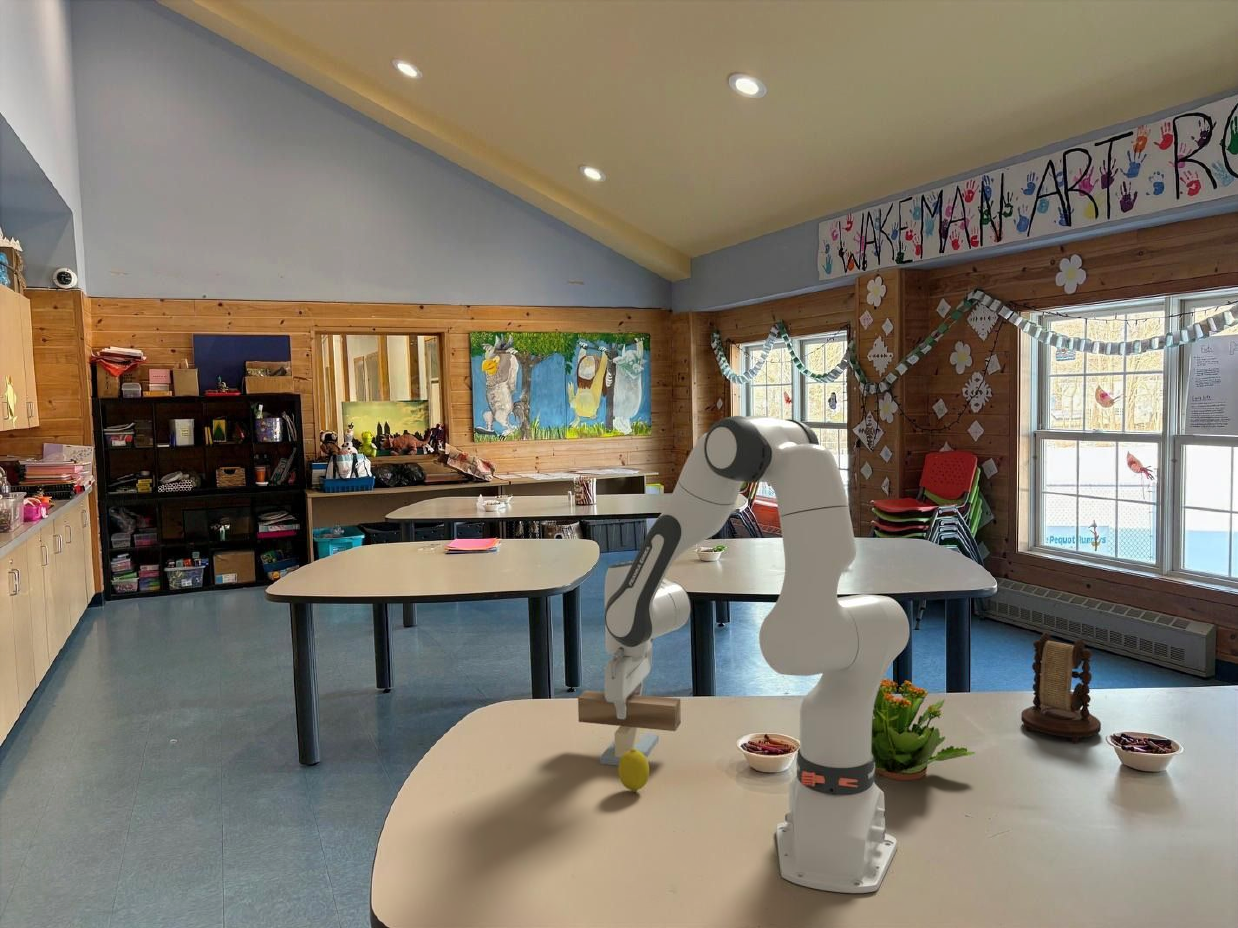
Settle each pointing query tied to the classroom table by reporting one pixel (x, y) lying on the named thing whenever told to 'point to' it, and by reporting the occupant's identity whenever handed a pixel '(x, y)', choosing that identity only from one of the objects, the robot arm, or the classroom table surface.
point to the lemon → (633, 770)
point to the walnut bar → (631, 711)
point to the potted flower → (906, 733)
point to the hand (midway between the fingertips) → (629, 709)
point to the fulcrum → (628, 744)
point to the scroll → (1061, 691)
